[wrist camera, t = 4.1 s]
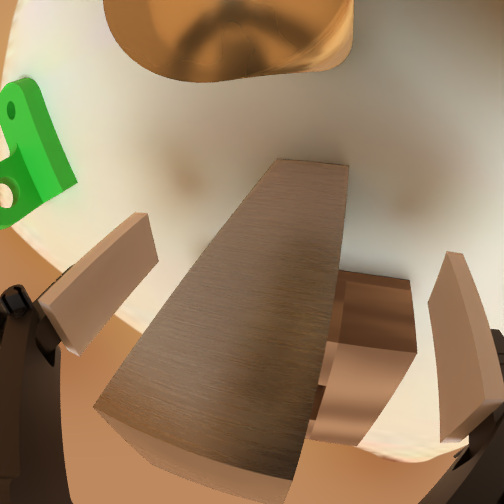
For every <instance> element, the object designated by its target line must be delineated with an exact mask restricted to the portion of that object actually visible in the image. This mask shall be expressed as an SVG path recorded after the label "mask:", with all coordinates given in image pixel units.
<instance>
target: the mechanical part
mask: <svg viewBox="0 0 504 504" xmlns="http://www.w3.org/2000/svg"><path fill="white" fill-rule="evenodd" d="M0 125H1V128H2V131H3V133H4V136H5V139H6V142H7V144H8V147H9V150H10V156H9V157H8V158H6V159H5V160H3V161H1V162H0V183H3V184H6V185H7V186H8V187H9V188H10V189H11V191H12V194H13V203H12V206H11V208H3V207H1V206H0V230H1V229H6V228H8V227H10V226H11V225H13V224H14V223H16V222H17V221H19V220H20V219H22V218H23V217H24V216H26V215H27V214H29V213H30V212H31V211H33V210H34V209H36V208H37V207H39V206H40V205H42V204H43V203H45V202H46V201H48V200H50V199H51V198H53V197H55V196H56V195H58V194H60V193H62V192H63V191H65V190H66V189H68V188H70V187H71V186H73V185H74V184H76V183H78V182H77V180H76V178H75V176H74V173H73V171H72V169H71V167H70V165H69V162H68V160H67V158H66V155H65V153H64V151H63V148H62V146H61V144H60V141H59V139H58V136H57V134H56V131H55V129H54V126H53V124H52V121H51V119H50V116H49V113H48V111H47V108H46V105H45V102H44V100H43V97H42V94H41V91H40V89H39V87H38V85H37V84H36V82H35V81H34V80H32V79H30V78H24V79H20V80H17V81H14V82H10V83H8V84H7V85H6V86H5V87H4V88H3V90H2V91H1V93H0Z"/></svg>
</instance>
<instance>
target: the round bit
mask: <svg viewBox="0 0 504 504" xmlns="http://www.w3.org/2000/svg"><path fill="white" fill-rule="evenodd" d="M103 4H104V11H105V16H106V20H107V23H108V26H109V28H110V31H111V33H112V34H113V36H114V38H115V40H116V42H117V43H118V44H119V46H120V47H121V48H122V49H123V51H124V52H125V53H126V54H127V55H128V56H129V57H130V58H131V59H132V60H134V61H135V62H137V63H138V64H139V65H141V66H142V67H144V68H146V69H148V70H150V71H151V72H153V73H156V74H158V75H161V76H164V77H167V78H170V79H175V80H179V81H186V82H196V83H201V82H219V81H227V80H234V79H241V78H248V77H256V76H265V75H275V74H286V73H300V72H319V71H325V70H329V69H332V68H334V67H336V66H338V65H339V64H340V63H342V62H343V61H344V60H345V59H346V57H347V56H348V54H349V53H350V50H351V48H352V44H353V19H354V0H103Z"/></svg>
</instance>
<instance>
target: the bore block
mask: <svg viewBox="0 0 504 504" xmlns="http://www.w3.org/2000/svg"><path fill="white" fill-rule="evenodd" d="M416 354H417V342H416V330H415V320H414V310H413V302H412V294H411V287H410V281H409V280H402V279H395V278H388V277H381V276H375V275H368V274H361V273H354V272H347V271H340V270H338V276H337V283H336V289H335V296H334V302H333V308H332V314H331V320H330V326H329V332H328V337H327V342H326V348H325V353H324V358H323V363H322V367H321V372H320V377H319V381H318V386H317V390H316V395H315V399H314V403H313V408H312V412H311V416H310V420H309V424H308V428H307V431H306V435H305V439H311V440H316V441H322V442H329V443H335V444H343V445H351V446H357V445H358V444H359V443H360V441H361V440H362V439H363V437H364V436H365V435H366V433H367V432H368V431H369V429H370V428H371V426H372V425H373V424H374V422H375V421H376V419H377V418H378V416H379V415H380V413H381V412H382V410H383V409H384V407H385V406H386V404H387V403H388V401H389V400H390V398H391V397H392V395H393V394H394V392H395V390H396V389H397V387H398V386H399V384H400V382H401V381H402V379H403V377H404V376H405V374H406V372H407V370H408V369H409V367H410V365H411V363H412V362H413V360H414V358H415V356H416Z"/></svg>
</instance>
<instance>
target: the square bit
mask: <svg viewBox="0 0 504 504" xmlns="http://www.w3.org/2000/svg"><path fill="white" fill-rule="evenodd" d="M348 172H349V166H347V165H338V164H329V163H320V162H309V161H298V160H286V159H276V160H275V162H274V163H273V164H272V165H271V167H270V168H269V169H268V170H267V172H266V173H265V174H264V175H263V176H262V178H261V179H260V180H259V181H258V183H257V184H256V185H255V186H254V188H253V189H252V190H251V191H250V193H249V194H248V195H247V196H246V198H245V199H244V200H243V201H242V203H241V204H240V205H239V207H238V208H237V209H236V210H235V212H234V213H233V214H232V215H231V217H230V218H229V219H228V221H227V222H226V223H225V224H224V226H223V227H222V228H221V230H220V231H219V232H218V233H217V235H216V236H215V237H214V239H213V240H212V241H211V243H210V244H209V245H208V246H207V248H206V249H205V250H204V252H203V253H202V254H201V256H200V257H199V258H198V260H197V261H196V262H195V264H194V265H193V266H192V268H191V269H190V270H189V272H188V273H187V274H186V276H185V277H184V278H183V280H182V281H181V282H180V284H179V285H178V286H177V288H176V289H175V290H174V292H173V293H172V295H171V296H170V297H169V299H168V300H167V301H166V303H165V304H164V305H163V307H162V308H161V310H160V311H159V312H158V314H157V315H156V316H155V318H154V319H153V321H152V322H151V323H150V325H149V326H148V328H147V329H146V330H145V332H144V333H143V335H142V336H141V337H140V339H139V340H138V342H137V343H136V345H135V346H134V347H133V349H132V350H131V352H130V353H129V354H128V356H127V357H126V359H125V360H124V362H123V363H122V365H121V366H120V367H119V369H118V371H117V372H116V373H115V375H114V376H113V378H112V379H111V381H110V382H109V383H108V385H107V387H106V388H105V389H104V391H103V392H102V394H101V395H100V397H99V399H98V400H97V401H96V403H95V404H94V406H93V408H94V409H95V410H96V411H97V412H98V413H99V414H100V415H101V416H102V417H103V418H104V419H105V420H106V422H107V423H108V424H109V425H110V426H111V427H112V428H113V429H114V430H115V431H116V432H117V433H118V434H119V435H120V436H121V437H122V438H123V439H124V440H125V441H126V442H128V443H129V444H130V445H131V446H132V447H133V448H134V449H135V450H136V451H137V452H138V453H139V454H141V455H142V456H143V457H144V458H145V459H146V460H147V461H149V462H150V463H151V464H152V465H154V466H157V467H159V468H161V469H164V470H165V471H168V472H170V473H173V474H175V475H178V476H180V477H183V478H185V479H187V480H190V481H193V482H195V483H198V484H201V485H204V486H207V487H210V488H212V489H216V490H219V491H222V492H225V493H228V494H232V495H235V496H238V497H242V498H246V499H249V500H253V501H257V502H261V503H265V504H283V503H284V501H285V498H286V496H287V493H288V491H289V488H290V486H291V483H292V481H293V477H294V474H295V471H296V467H297V464H298V461H299V457H300V454H301V450H302V446H303V443H304V439H305V435H306V431H307V428H308V424H309V420H310V416H311V412H312V408H313V403H314V399H315V395H316V390H317V386H318V381H319V377H320V372H321V367H322V363H323V358H324V353H325V348H326V342H327V337H328V332H329V326H330V320H331V314H332V308H333V302H334V296H335V289H336V283H337V276H338V269H339V261H340V253H341V245H342V237H343V228H344V219H345V208H346V197H347V186H348Z"/></svg>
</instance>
